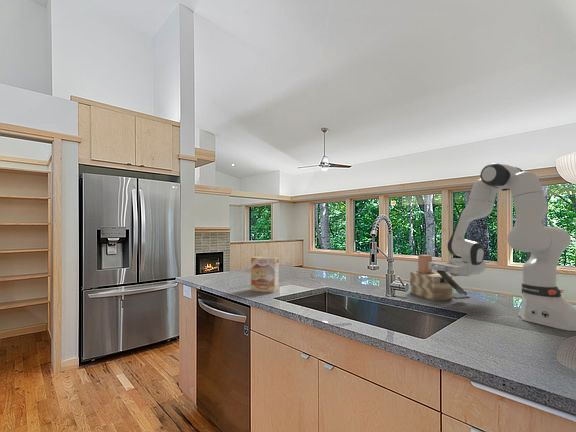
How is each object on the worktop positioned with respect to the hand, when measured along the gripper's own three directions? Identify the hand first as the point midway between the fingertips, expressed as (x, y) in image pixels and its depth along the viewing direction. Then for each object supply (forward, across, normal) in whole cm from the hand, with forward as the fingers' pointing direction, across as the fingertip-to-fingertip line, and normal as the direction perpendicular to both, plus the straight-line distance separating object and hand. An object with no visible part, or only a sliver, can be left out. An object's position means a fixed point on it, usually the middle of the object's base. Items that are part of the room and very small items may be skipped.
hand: (434, 268), depth 155 cm
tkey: (-18, -2, +14) cm, 23 cm away
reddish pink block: (-11, -19, +6) cm, 23 cm away
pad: (-24, -10, +18) cm, 31 cm away
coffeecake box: (+74, -53, +18) cm, 93 cm away
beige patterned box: (-11, -15, +18) cm, 26 cm away
